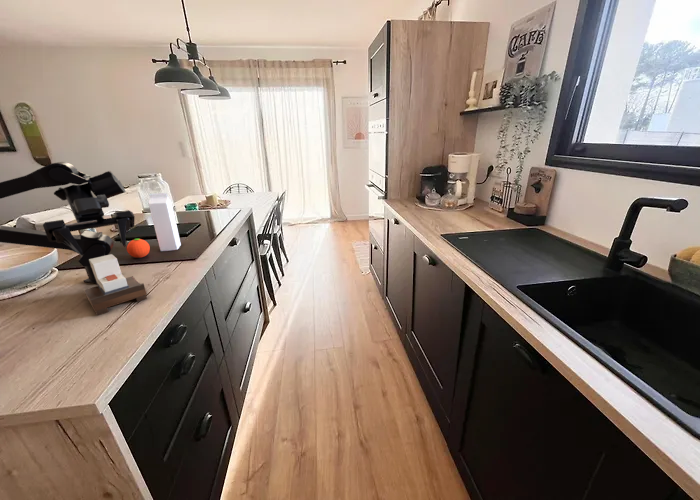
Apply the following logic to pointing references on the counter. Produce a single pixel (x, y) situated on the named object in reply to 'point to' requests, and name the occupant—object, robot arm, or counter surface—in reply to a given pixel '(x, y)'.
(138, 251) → the clementine
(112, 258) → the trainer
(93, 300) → the brown wooden stand
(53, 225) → the robot arm
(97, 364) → the counter surface
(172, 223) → the milk
